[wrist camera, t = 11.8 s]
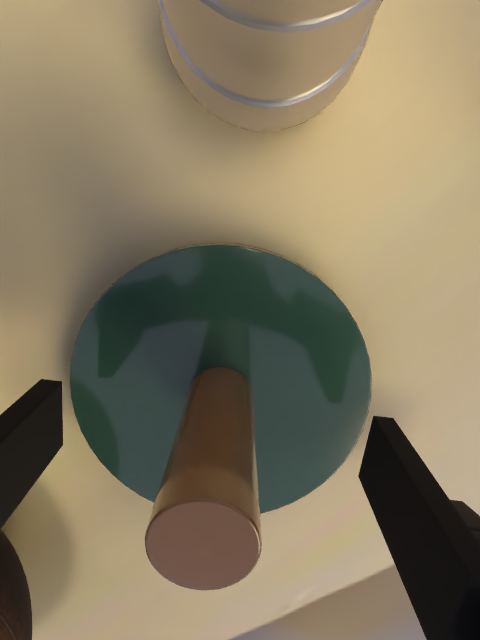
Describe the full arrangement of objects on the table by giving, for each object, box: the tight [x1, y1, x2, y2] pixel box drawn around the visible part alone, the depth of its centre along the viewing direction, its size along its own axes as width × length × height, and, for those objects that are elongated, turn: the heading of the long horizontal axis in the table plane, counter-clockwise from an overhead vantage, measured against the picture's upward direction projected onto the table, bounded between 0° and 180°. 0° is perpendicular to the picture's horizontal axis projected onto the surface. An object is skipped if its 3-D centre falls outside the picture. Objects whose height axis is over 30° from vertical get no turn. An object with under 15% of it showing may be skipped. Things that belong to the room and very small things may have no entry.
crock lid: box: [70, 243, 372, 590], centre depth 14 cm, size 14×14×9 cm
